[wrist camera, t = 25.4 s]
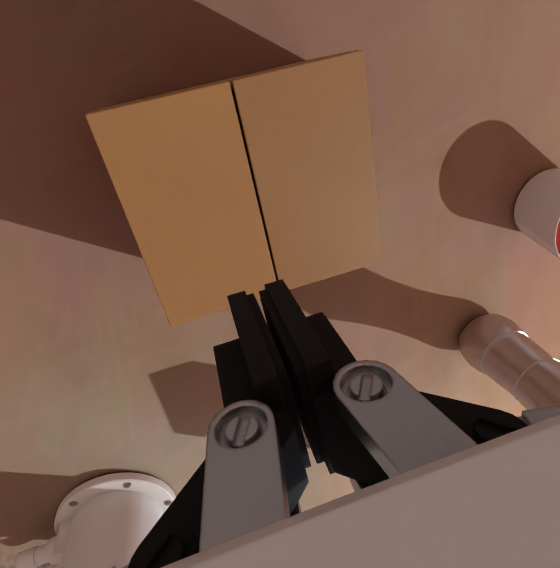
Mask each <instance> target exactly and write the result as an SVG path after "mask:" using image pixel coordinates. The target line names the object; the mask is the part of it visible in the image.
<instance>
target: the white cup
mask: <svg viewBox="0 0 560 568" xmlns="http://www.w3.org/2000/svg"><path fill="white" fill-rule="evenodd" d="M514 220H515V223H516V226H517V227H518V229H519V230H520V231H521V232H522V233H524V234H525V235H526V236H528V237H529V238H531V239H532V240H533V241H535V242H536V243H538V244H539V245H540V246H542V247H543V248H545V249H546V250H548V251H549V252H550V253H552V254H553V255H555V256H556V257H558V258H559V259H560V168H552V169H547V170H544V171H542V172H540V173H538V174H537V175H535V176H534V177H533V178H531V179H530V180H529V181H528V182H527V183H526V185H525V186H524V187H523V189H522V190H521V192H520V194H519V195H518V198H517V200H516V203H515V207H514Z"/></svg>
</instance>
